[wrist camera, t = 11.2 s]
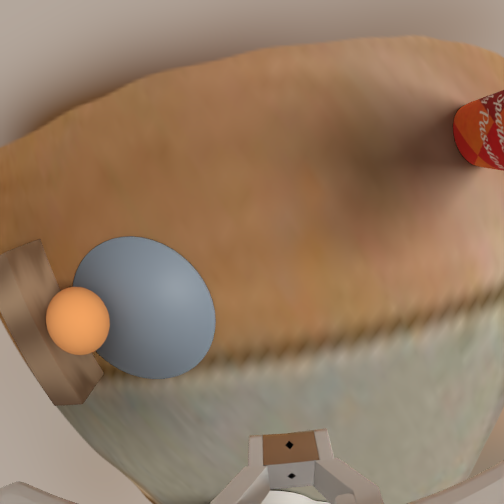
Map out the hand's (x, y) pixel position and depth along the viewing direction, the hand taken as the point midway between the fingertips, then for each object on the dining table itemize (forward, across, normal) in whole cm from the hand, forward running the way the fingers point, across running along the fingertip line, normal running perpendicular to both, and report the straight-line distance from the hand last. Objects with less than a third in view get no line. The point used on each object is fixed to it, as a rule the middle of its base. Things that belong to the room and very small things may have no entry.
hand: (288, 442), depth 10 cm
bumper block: (+14, -20, 0) cm, 24 cm away
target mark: (+14, -11, 0) cm, 17 cm away
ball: (+11, -15, +1) cm, 19 cm away
